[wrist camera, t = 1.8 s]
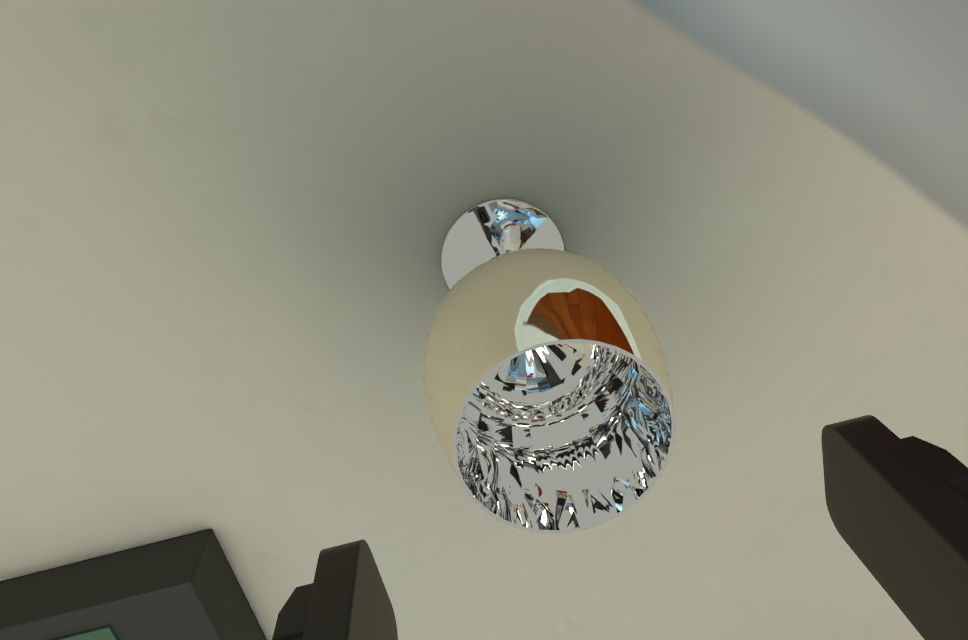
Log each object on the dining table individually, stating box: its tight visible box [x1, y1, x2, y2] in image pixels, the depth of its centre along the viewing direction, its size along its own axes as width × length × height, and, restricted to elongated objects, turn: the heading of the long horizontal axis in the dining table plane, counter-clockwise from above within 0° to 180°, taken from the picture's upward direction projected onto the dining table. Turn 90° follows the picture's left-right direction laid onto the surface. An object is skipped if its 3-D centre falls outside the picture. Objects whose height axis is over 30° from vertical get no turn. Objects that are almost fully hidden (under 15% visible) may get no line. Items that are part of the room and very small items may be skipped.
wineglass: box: [423, 198, 676, 533], centre depth 20 cm, size 6×6×12 cm
